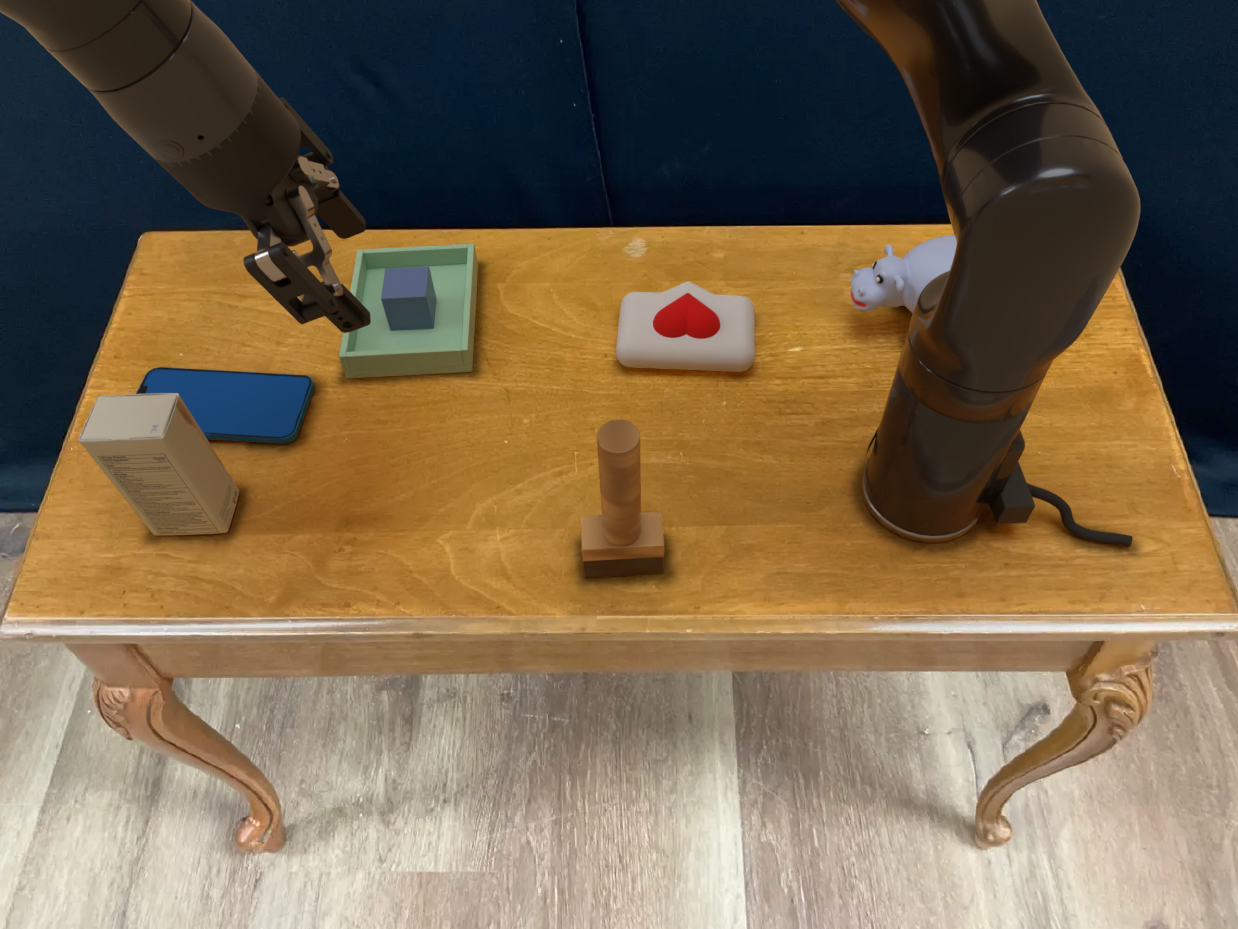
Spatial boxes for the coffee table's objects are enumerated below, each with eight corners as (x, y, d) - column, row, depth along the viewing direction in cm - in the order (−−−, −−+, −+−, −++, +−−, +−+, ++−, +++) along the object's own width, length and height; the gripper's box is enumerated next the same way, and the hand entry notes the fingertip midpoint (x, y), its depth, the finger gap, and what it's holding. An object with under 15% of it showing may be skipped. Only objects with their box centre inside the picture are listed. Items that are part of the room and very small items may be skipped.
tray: (478, 265, 95) (474, 243, 93) (472, 372, 86) (467, 350, 84) (364, 271, 95) (357, 249, 93) (346, 378, 86) (338, 356, 84)
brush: (660, 540, 75) (663, 415, 63) (663, 573, 73) (666, 451, 61) (583, 544, 75) (571, 420, 63) (584, 578, 73) (572, 456, 61)
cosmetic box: (241, 490, 79) (184, 390, 69) (228, 535, 76) (167, 438, 67) (163, 492, 79) (95, 392, 69) (148, 536, 76) (75, 439, 67)
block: (436, 298, 91) (429, 265, 88) (433, 328, 89) (426, 296, 85) (394, 300, 91) (385, 268, 88) (390, 331, 89) (380, 298, 85)
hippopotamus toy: (833, 286, 92) (849, 204, 84) (990, 279, 92) (1021, 196, 84) (854, 370, 85) (874, 289, 78) (1024, 362, 85) (1060, 280, 78)
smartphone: (292, 439, 81) (117, 429, 82) (295, 447, 82) (122, 437, 82) (315, 374, 85) (149, 365, 86) (318, 382, 86) (153, 373, 87)
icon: (756, 265, 88) (757, 344, 82) (752, 300, 91) (753, 379, 85) (622, 260, 88) (613, 338, 82) (623, 295, 92) (615, 373, 86)
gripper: (252, 172, 50) (411, 340, 63) (256, -1, 56) (398, 184, 70) (130, 223, 51) (311, 376, 65) (149, 48, 58) (309, 220, 72)
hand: (356, 276), depth 68 cm, fingers open, 8 cm apart
